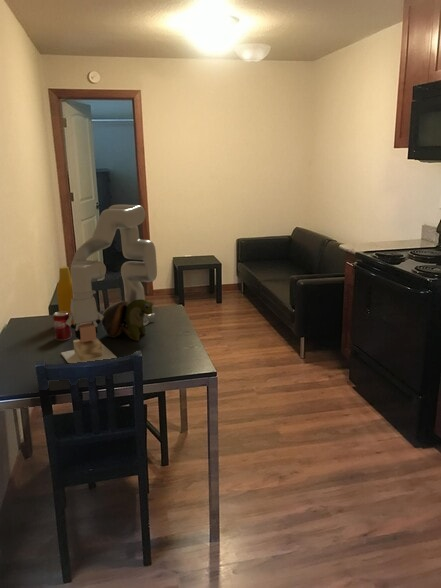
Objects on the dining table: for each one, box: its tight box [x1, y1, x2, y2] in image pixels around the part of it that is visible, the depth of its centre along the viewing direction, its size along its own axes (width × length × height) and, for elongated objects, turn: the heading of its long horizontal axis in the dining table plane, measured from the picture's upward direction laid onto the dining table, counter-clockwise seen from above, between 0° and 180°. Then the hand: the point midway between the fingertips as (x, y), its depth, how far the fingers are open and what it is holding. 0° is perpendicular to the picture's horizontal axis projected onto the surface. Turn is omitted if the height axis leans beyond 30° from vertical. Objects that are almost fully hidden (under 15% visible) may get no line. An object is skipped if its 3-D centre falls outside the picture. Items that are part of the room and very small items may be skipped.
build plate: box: [60, 343, 118, 364], centre depth 199 cm, size 18×18×1 cm
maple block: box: [72, 337, 102, 361], centre depth 198 cm, size 9×9×6 cm
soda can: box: [52, 311, 73, 342], centre depth 219 cm, size 7×7×12 cm
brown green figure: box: [101, 299, 154, 342], centre depth 219 cm, size 19×16×25 cm
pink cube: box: [79, 322, 97, 342], centre depth 196 cm, size 6×6×6 cm
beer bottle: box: [56, 266, 75, 325], centre depth 236 cm, size 9×9×29 cm
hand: (86, 336), depth 197 cm, fingers closed on pink cube, 6 cm apart
